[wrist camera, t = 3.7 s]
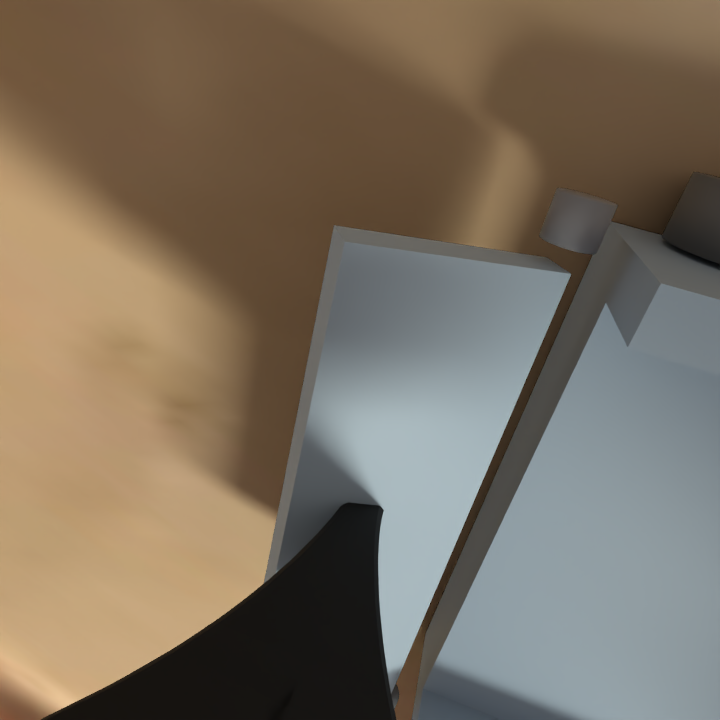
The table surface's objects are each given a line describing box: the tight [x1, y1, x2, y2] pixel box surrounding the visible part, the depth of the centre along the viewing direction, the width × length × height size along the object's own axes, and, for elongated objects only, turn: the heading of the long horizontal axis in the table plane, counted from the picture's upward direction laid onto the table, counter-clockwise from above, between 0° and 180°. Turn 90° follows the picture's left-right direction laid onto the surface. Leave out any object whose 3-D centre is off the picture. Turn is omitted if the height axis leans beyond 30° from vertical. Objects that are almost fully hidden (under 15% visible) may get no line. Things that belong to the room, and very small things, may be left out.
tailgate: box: [264, 225, 571, 693], centre depth 12 cm, size 1×13×4 cm
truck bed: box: [391, 172, 720, 720], centre depth 11 cm, size 12×17×6 cm
